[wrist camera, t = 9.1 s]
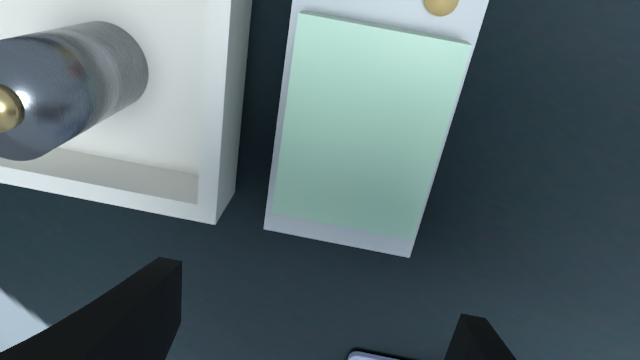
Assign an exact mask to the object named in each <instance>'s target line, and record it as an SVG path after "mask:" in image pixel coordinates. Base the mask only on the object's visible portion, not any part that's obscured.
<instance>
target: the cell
mask: <svg viewBox="0 0 640 360" xmlns="http://www.w3.org/2000/svg"><path fill="white" fill-rule="evenodd" d="M148 77H149V73H148V64H147V61H146V58H145V55H144V53H143V51H142V49H141V47H140V46H139V44H138V43H137V42H136V40H135V39H134V38H133V37H132V36H131V35H130V34H129V33H128V32H126V31H125V30H124V29H122V28H120V27H119V26H117V25H114V24H112V23H109V22H104V21H90V22H85V23H80V24H75V25H70V26H66V27H61V28H56V29H51V30H46V31H41V32H36V33H31V34H26V35H21V36H16V37H11V38H6V39H1V40H0V157H1V158H5V159H8V160H14V161H29V160H34V159H37V158H39V157H41V156H43V155H45V154H47V153H48V152H50V151H52V150H53V149H55V148H57V147H59V146H60V145H62V144H64V143H65V142H67V141H69V140H71V139H72V138H74V137H76V136H78V135H79V134H81V133H83V132H84V131H86V130H88V129H90V128H91V127H93V126H95V125H96V124H98V123H100V122H102V121H103V120H105V119H107V118H108V117H110V116H112V115H114V114H115V113H117V112H119V111H121V110H122V109H124V108H126V107H127V106H129V105H131V104H133V103H134V102H136V101H137V100H138V99H139V98H140V97H141V96H142V95H143V93H144V91H145V89H146V87H147V83H148Z"/></svg>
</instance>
